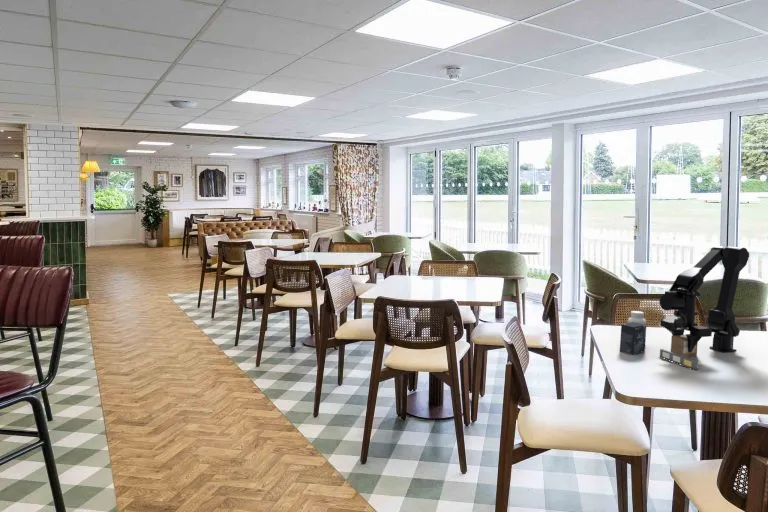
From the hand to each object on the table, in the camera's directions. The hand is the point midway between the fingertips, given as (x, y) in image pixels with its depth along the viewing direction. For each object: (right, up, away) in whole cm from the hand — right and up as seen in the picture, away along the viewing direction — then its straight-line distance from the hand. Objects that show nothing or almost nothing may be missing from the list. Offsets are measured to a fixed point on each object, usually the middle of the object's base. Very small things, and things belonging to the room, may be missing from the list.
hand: (683, 350), depth 209 cm
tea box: (0, -2, 0) cm, 2 cm away
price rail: (-7, -3, -10) cm, 13 cm away
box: (-17, -2, +5) cm, 18 cm away
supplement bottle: (-11, 0, +16) cm, 19 cm away
